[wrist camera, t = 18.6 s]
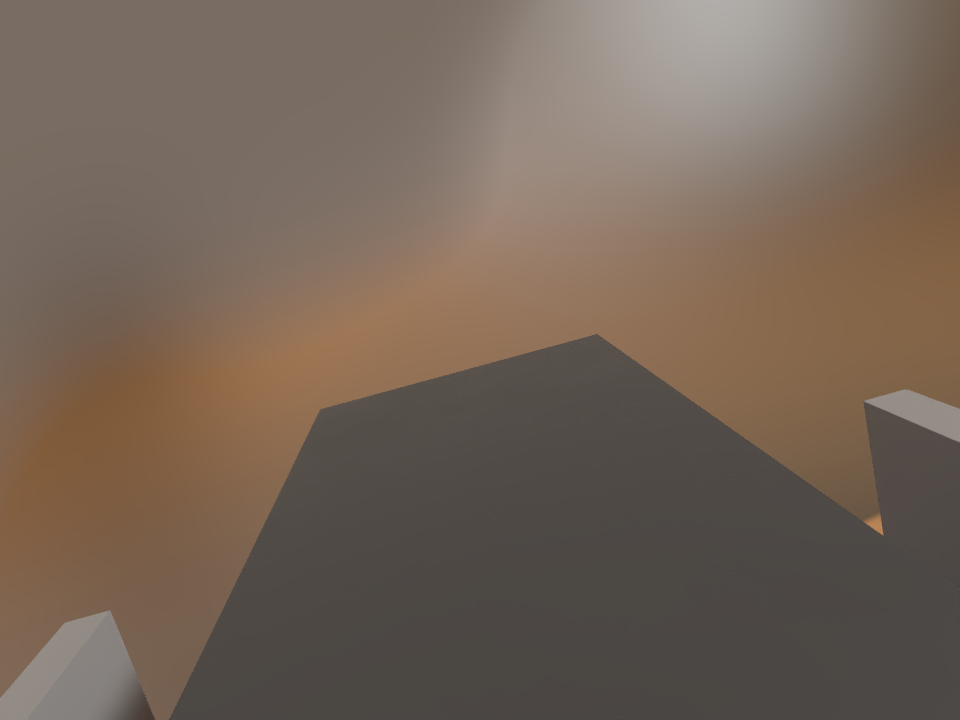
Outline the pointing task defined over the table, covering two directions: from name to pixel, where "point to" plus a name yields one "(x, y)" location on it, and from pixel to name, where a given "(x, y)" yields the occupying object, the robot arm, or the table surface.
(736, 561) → the dark grey block
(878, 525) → the table surface
